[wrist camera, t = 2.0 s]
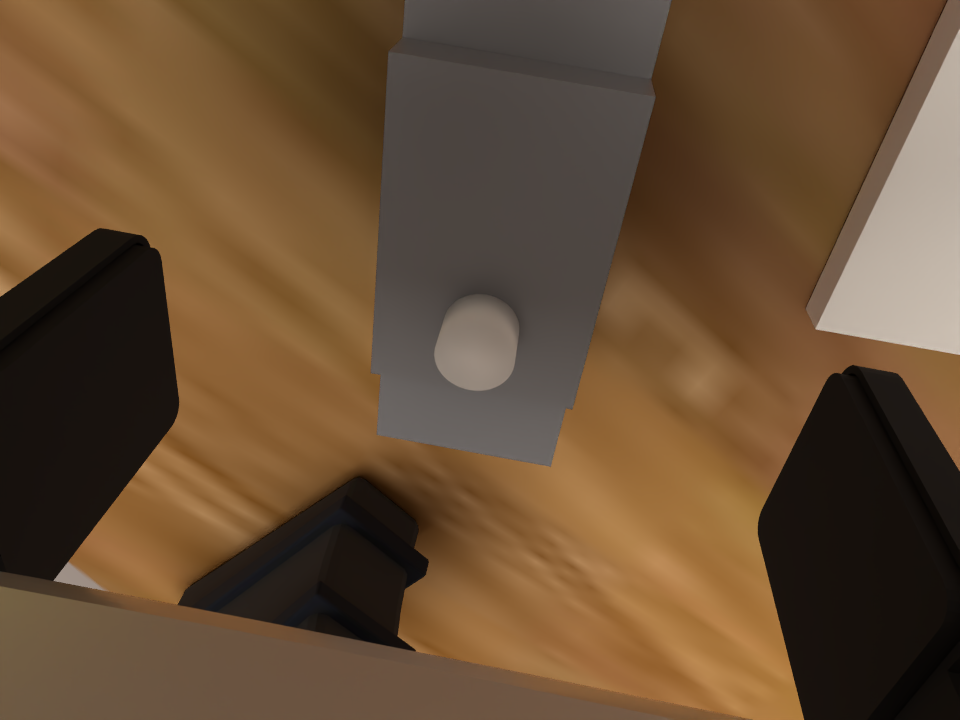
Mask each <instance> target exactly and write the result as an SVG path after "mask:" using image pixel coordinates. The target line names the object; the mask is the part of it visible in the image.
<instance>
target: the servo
mask: <svg viewBox="0 0 960 720" xmlns="http://www.w3.org/2000/svg"><path fill="white" fill-rule="evenodd" d="M671 1H672V0H405V7H404V23H403V37H402V38H401V39H400V40H399V41H398V42H397V43H396V44H395V45H394V46H393V47H392V48H391V49H390V50H389V51H388V69H387V87H386V105H385V123H384V142H383V160H382V178H381V197H380V215H379V233H378V251H377V270H376V288H375V306H374V324H373V343H372V361H371V373H374V374H379V375H381V378H380V393H379V409H378V424H377V435H381V436H386V437H392V438H397V439H403V440H408V441H414V442H419V443H425V444H430V445H436V446H441V447H446V448H452V449H457V450H463V451H468V452H474V453H479V454H485V455H490V456H496V457H501V458H507V459H512V460H517V461H523V462H528V463H534V464H539V465H545V466H550V467H551V463H552V459H553V455H554V452H555V448H556V444H557V440H558V436H559V432H560V428H561V425H562V421H563V417H564V413H565V409H566V408H567V409H573V405H574V401H575V398H576V394H577V390H578V386H579V383H580V379H581V375H582V372H583V368H584V364H585V360H586V357H587V353H588V349H589V345H590V342H591V338H592V334H593V330H594V327H595V323H596V319H597V315H598V312H599V308H600V304H601V300H602V297H603V293H604V289H605V285H606V282H607V278H608V274H609V270H610V267H611V263H612V259H613V255H614V252H615V248H616V244H617V240H618V237H619V233H620V229H621V225H622V222H623V218H624V214H625V210H626V207H627V203H628V199H629V195H630V192H631V188H632V184H633V180H634V177H635V173H636V169H637V165H638V162H639V158H640V154H641V150H642V147H643V143H644V139H645V135H646V132H647V128H648V124H649V120H650V117H651V113H652V109H653V105H654V102H655V98H656V96H655V92H654V89H653V85H652V81H651V78H652V74H653V70H654V66H655V63H656V59H657V55H658V51H659V47H660V43H661V39H662V36H663V32H664V28H665V24H666V20H667V16H668V12H669V9H670V5H671Z"/></svg>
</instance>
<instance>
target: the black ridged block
mask: <svg viewBox="0 0 960 720" xmlns="http://www.w3.org/2000/svg"><path fill="white" fill-rule="evenodd" d="M418 531H419V529H418V525H417V523H416V521H415V520H414V519H412V518H411V517H410V516H409V515H408V514H406V513H405V512H404V511H403V510H401V509H400V508H399V507H398V506H397V505H395V504H394V503H393V502H392V501H390V500H389V499H388V498H387V497H386V496H384V495H383V494H382V493H381V492H379V491H378V490H377V489H376V488H375V487H373V486H372V485H371V484H370V483H368V482H367V481H366V480H365V479H362V478H360V477H359V478H354V479H353V480H351V481H350V482H348V483H347V484H345V485H344V486H342V487H341V488H339V489H338V490H336V491H335V492H333V493H331V494H330V495H328V496H327V497H325V498H324V499H322V500H321V501H319V502H318V503H316V504H315V505H313V506H312V507H310V508H309V509H307V510H306V511H304V512H303V513H301V514H300V515H298V516H297V517H295V518H293V519H292V520H290V521H289V522H287V523H286V524H284V525H283V526H281V527H280V528H278V529H277V530H275V531H274V532H272V533H271V534H269V535H268V536H266V537H265V538H263V539H262V540H260V541H259V542H257V543H255V544H254V545H252V546H251V547H249V548H248V549H246V550H245V551H243V552H242V553H240V554H239V555H237V556H236V557H234V558H233V559H231V560H230V561H228V562H227V563H225V564H224V565H222V566H221V567H219V568H218V569H216V570H214V571H213V572H211V573H210V574H208V575H207V576H205V577H204V578H202V579H201V580H199V581H198V582H196V583H195V584H193V585H192V586H190V587H189V588H188V589H186V590H185V592H184V594H183V596H182V598H181V599H180V601H179V603H178V605H180V606H185V607H191V608H196V609H201V610H206V611H211V612H217V613H222V614H227V615H232V616H237V617H242V618H248V619H253V620H258V621H263V622H268V623H273V624H278V625H283V626H288V627H294V628H299V629H304V630H309V631H314V632H319V633H324V634H329V635H334V636H339V637H344V638H349V639H354V640H359V641H364V642H369V643H375V644H380V645H385V646H390V647H395V648H400V649H405V650H410V651H415V652H416V650H415V649H414V648H412V647H411V646H410V645H408V644H407V643H406V642H404V641H403V640H401V639H400V638H399V637H397V636H398V628H399V620H400V612H401V606H402V601H403V595H404V590H405V589H406V588H407V587H409V586H410V585H412V584H413V583H415V582H417V581H418V580H420V579H421V578H423V577H424V576H425V575H426V571H427V567H428V563H429V561H428V559H426V558H425V557H424V556H423V555H421V554H420V553H419V552H418V551H416V550H415V549H414V546H415V542H416V538H417V534H418Z"/></svg>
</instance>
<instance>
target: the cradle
mask: <svg viewBox="0 0 960 720" xmlns="http://www.w3.org/2000/svg"><path fill="white" fill-rule="evenodd" d="M806 311H807V313H808V315H809V317H810V319H811V321H812V323H813V325H814V327H815V329H817V330H823V331H828V332H834V333H840V334H845V335H851V336H857V337H862V338H868V339H873V340H879V341H885V342H890V343H896V344H902V345H907V346H913V347H919V348H924V349H930V350H936V351H941V352H947V353H952V354H958V355H960V0H948V1H947V3H946V5H945V8H944V10H943V12H942V14H941V16H940V18H939V21H938V23H937V25H936V27H935V29H934V31H933V34H932V36H931V38H930V40H929V42H928V44H927V47H926V49H925V51H924V53H923V55H922V57H921V60H920V62H919V64H918V66H917V68H916V70H915V73H914V75H913V77H912V79H911V81H910V83H909V86H908V88H907V90H906V92H905V94H904V96H903V99H902V101H901V103H900V105H899V107H898V109H897V112H896V114H895V116H894V118H893V120H892V122H891V125H890V127H889V129H888V131H887V133H886V135H885V138H884V140H883V142H882V144H881V146H880V148H879V151H878V153H877V155H876V157H875V159H874V161H873V164H872V166H871V168H870V170H869V172H868V174H867V177H866V179H865V181H864V183H863V185H862V187H861V190H860V192H859V194H858V196H857V198H856V200H855V203H854V205H853V207H852V209H851V211H850V213H849V216H848V218H847V220H846V222H845V224H844V226H843V229H842V231H841V233H840V235H839V237H838V239H837V242H836V244H835V246H834V248H833V250H832V252H831V255H830V257H829V259H828V261H827V263H826V265H825V268H824V270H823V272H822V274H821V276H820V278H819V281H818V283H817V285H816V287H815V289H814V291H813V294H812V296H811V298H810V300H809V302H808V304H807V307H806Z"/></svg>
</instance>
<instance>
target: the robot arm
mask: <svg viewBox="0 0 960 720" xmlns="http://www.w3.org/2000/svg"><path fill="white" fill-rule="evenodd" d="M178 409H179V396H178V388H177V380H176V372H175V364H174V356H173V348H172V340H171V332H170V324H169V316H168V308H167V300H166V292H165V284H164V276H163V268H162V261H161V256H160V254H159V252H158V250H156V249H155V248H150V244H149V243H148V241H147V239H146V238H145V237H143V236H142V235H136V234H131V233H125V232H120V231H114V230H109V229H102V228H99V229H97V230H94V231H93V232H91V233H90V234H89V235H87V236H86V237H84V238H83V239H82V240H80V241H79V242H77V243H76V244H75V245H73V246H72V247H70V248H69V249H67V250H66V251H65V252H63V253H62V254H60V255H59V256H58V257H56V258H55V259H53V260H52V261H51V262H49V263H48V264H46V265H45V266H43V267H42V268H41V269H39V270H38V271H36V272H35V273H34V274H32V275H31V276H29V277H28V278H26V279H25V280H24V281H22V282H21V283H19V284H18V285H17V286H15V287H14V288H12V289H11V290H10V291H8V292H7V293H5V294H4V295H2V296H1V297H0V720H751V719H746V718H741V717H736V716H731V715H726V714H722V713H717V712H712V711H707V710H702V709H697V708H692V707H687V706H682V705H677V704H673V703H668V702H663V701H658V700H653V699H648V698H643V697H638V696H633V695H628V694H624V693H619V692H614V691H609V690H604V689H599V688H594V687H589V686H584V685H579V684H575V683H570V682H565V681H560V680H555V679H550V678H545V677H540V676H535V675H530V674H525V673H520V672H515V671H510V670H505V669H500V668H495V667H490V666H485V665H480V664H475V663H470V662H465V661H460V660H455V659H450V658H445V657H440V656H435V655H430V654H425V653H420V652H415V651H410V650H405V649H400V648H395V647H390V646H385V645H380V644H375V643H369V642H364V641H359V640H354V639H349V638H344V637H339V636H334V635H329V634H324V633H319V632H314V631H309V630H304V629H299V628H294V627H288V626H283V625H278V624H273V623H268V622H263V621H258V620H253V619H248V618H242V617H237V616H232V615H227V614H222V613H217V612H211V611H206V610H201V609H196V608H191V607H185V606H180V605H175V604H170V603H165V602H159V601H154V600H149V599H144V598H139V597H134V596H128V595H123V594H118V593H113V592H108V591H102V590H97V589H92V588H87V587H81V586H76V585H71V584H66V583H61V582H55V581H53V580H54V579H55V578H56V576H57V575H58V574H59V573H60V571H61V570H62V569H63V567H64V566H65V565H66V564H67V562H68V561H69V560H70V558H71V557H72V556H73V554H74V553H75V552H76V550H77V549H78V548H79V547H80V545H81V544H82V543H83V541H84V540H85V539H86V537H87V536H88V535H89V534H90V532H91V531H92V530H93V528H94V527H95V526H96V524H97V523H98V522H99V520H100V519H101V518H102V517H103V515H104V514H105V513H106V511H107V510H108V509H109V507H110V506H111V505H112V504H113V502H114V501H115V500H116V498H117V497H118V496H119V494H120V493H121V492H122V491H123V489H124V488H125V487H126V485H127V484H128V483H129V481H130V480H131V479H132V477H133V476H134V475H135V474H136V472H137V471H138V470H139V468H140V467H141V466H142V464H143V463H144V462H145V461H146V459H147V458H148V457H149V455H150V454H151V453H152V451H153V450H154V449H155V448H156V446H157V445H158V444H159V442H160V441H161V440H162V438H163V437H164V436H165V434H166V433H167V432H168V431H169V429H170V428H171V427H172V425H173V423H174V422H175V419H176V417H177V413H178ZM758 537H759V542H760V546H761V550H762V554H763V557H764V561H765V565H766V569H767V573H768V577H769V581H770V585H771V589H772V593H773V597H774V601H775V605H776V609H777V613H778V617H779V621H780V625H781V629H782V633H783V637H784V641H785V645H786V649H787V653H788V657H789V661H790V665H791V669H792V673H793V677H794V681H795V685H796V688H797V692H798V696H799V700H800V704H801V708H802V712H803V716H804V720H960V471H959V470H958V468H957V466H956V465H955V463H954V462H953V460H952V458H951V457H950V455H949V453H948V452H947V450H946V449H945V447H944V445H943V444H942V442H941V441H940V439H939V437H938V436H937V434H936V432H935V431H934V429H933V428H932V426H931V424H930V423H929V421H928V420H927V418H926V416H925V415H924V413H923V411H922V410H921V408H920V407H919V405H918V403H917V402H916V400H915V399H914V397H913V395H912V394H911V392H910V390H909V389H908V387H907V386H906V384H905V382H904V381H903V379H902V378H901V377H900V376H899V375H898V374H896V373H893V372H887V371H882V370H876V369H871V368H865V367H860V366H854V365H852V366H850V367H848V368H847V369H846V370H844V371H843V373H842V374H839V373H834V374H832V375H831V376H830V377H829V378H828V379H827V381H826V383H825V385H824V387H823V389H822V391H821V393H820V395H819V397H818V399H817V401H816V403H815V405H814V407H813V409H812V411H811V413H810V415H809V417H808V419H807V421H806V423H805V425H804V427H803V429H802V431H801V433H800V435H799V437H798V439H797V441H796V443H795V445H794V447H793V449H792V451H791V453H790V455H789V457H788V459H787V461H786V463H785V465H784V467H783V469H782V471H781V473H780V475H779V477H778V479H777V481H776V483H775V485H774V487H773V489H772V491H771V493H770V495H769V497H768V499H767V501H766V503H765V505H764V507H763V509H762V511H761V513H760V517H759V521H758Z"/></svg>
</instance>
